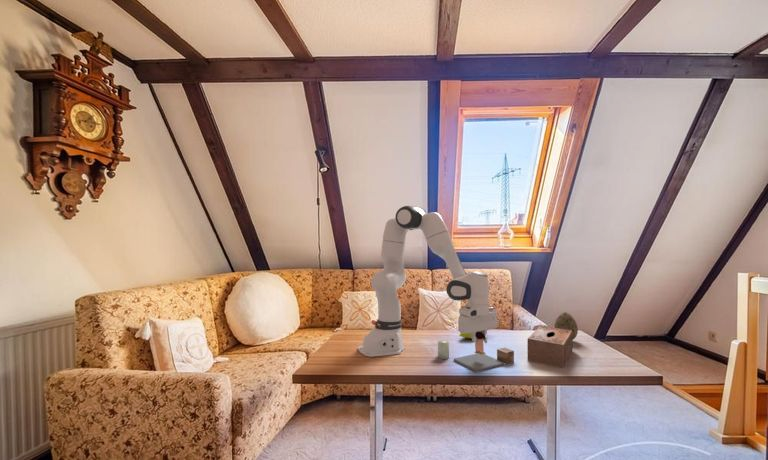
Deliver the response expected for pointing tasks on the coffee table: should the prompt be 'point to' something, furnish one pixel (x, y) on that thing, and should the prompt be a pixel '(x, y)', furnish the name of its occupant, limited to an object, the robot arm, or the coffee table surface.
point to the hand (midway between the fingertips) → (478, 340)
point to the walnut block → (505, 355)
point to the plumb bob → (466, 335)
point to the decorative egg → (566, 323)
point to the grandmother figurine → (480, 342)
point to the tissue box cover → (550, 346)
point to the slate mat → (478, 362)
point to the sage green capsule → (443, 349)
